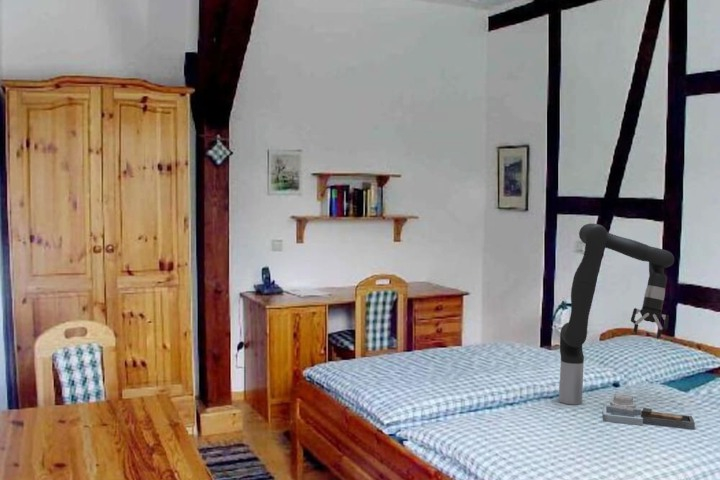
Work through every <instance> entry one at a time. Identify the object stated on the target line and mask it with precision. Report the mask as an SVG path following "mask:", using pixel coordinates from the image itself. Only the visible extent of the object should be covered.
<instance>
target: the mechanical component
mask: <svg viewBox="0 0 720 480" xmlns="http://www.w3.org/2000/svg"><path fill="white" fill-rule="evenodd" d="M613 405H619V406H627V407H633V408H635V407H637V403H636V402H634V396H633V395H631V394H627V393H614V395H613V399H611V400H610V406H613Z"/></svg>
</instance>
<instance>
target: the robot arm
mask: <svg viewBox="0 0 720 480" xmlns="http://www.w3.org/2000/svg"><path fill="white" fill-rule="evenodd" d="M578 236H579V239H580V240H581V242H582V243H583V244H585V245H584V252H583V256H582V259H581V262H580V263H579V265H578V267H577V268H576V271H575V273H574V275H573V279H572V285H571V289H570V290H571V291H570V305H571V307H570V308H571V309H570V316H569V318H568V319H569V320H568V322H565V324H563V325H562V327H561V329H560V334H559V353H560V371H559V385H558V386H559V387H558V389H559V390H558V403H562V404H565V405H575V406H576V405H581V404H583V390H584V389H583V387H584V385H583V384H584V364H585V363H584V360H585V355H584V352H583V351H584V350H583V345H584V344H585V342H586V340H587V338H588V337H587V336H588V325H589V316H590V314H591V313H590V312H591V308H592V304H593V302H594V301H593V300H594V297H595V296H594V295H595V292H596V287H597V283H598V281H597V280H598V276H599V271H600V266H601V261H602V260H601V259H602V256H603V252H604V249H609V250H612V251H614V252H616V253H619V254H622V255H625V256H627V257H630V258H632V259H634V260H637V261H641V262H646V263H647V262H648V271H649V272H648V274H649V276H648V281H647V285H646V289H645V292H644V297H643V303H642V307H641V309H639V308H636V307H634V308H633V311H632V315H631V318H630V322H631V323H633V324H634V326H633V333H634V334H637V333H638V329H639V324H640V323H641V322H643V321H645V322H651V323H655V324H656V326H657V328H658V329H657V334H656V337H655V339H657V340H658V339H660V338H661V336H662V331H663V330H664V331H665V330H667V329H668V327H669V319H670V315H669V314H663V313H662V311H663V305H664V301H665V295H666V289H667V287H666V286H667V283H668V276H667V275H666V274H665V268H666V269H667V268H669V267H671V266H673V265H674V263H675V256H674V255H673V253H672V252H671V251H669V250H666V249H663V248H658V247H654V246H650V245H649V244H645V243H643V242H640V241H637V240H634V239H630V238H627V237H622V236H619V235H617V234H613V233H610V232H608V231H607V229H606V228H605V227H604V225H601V224H598V223H591V222H590V223H587V224H584V225H583V226H581V228H579V232H578ZM639 313H640V315H641V317H640V318H638V319H637V320H636V319H635V318H636V315H638V314H639ZM661 318H662V319H663V320H664V324H663V326H662V324H661V322H660V319H661Z"/></svg>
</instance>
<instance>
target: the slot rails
mask: <svg viewBox="0 0 720 480" xmlns="http://www.w3.org/2000/svg"><path fill="white" fill-rule="evenodd" d="M642 411H643V410H641V416H640V418H641V417H642V418H643V425H649V424H650V426H651V425H652V426H658V425H659V426H660V427H667V428H668V427H670V428H675V429H676V428H678V429H686V430H693V431H694V430H695V426H696V422H695V419H694V418H693V416H692V415H685V414H677V413H676V414H675V413H672V414H673V415H680V416H682V421H680V420H671V419H662V418H653V417H643V416H642ZM665 413H666V414H669V413H667V412H665Z"/></svg>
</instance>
